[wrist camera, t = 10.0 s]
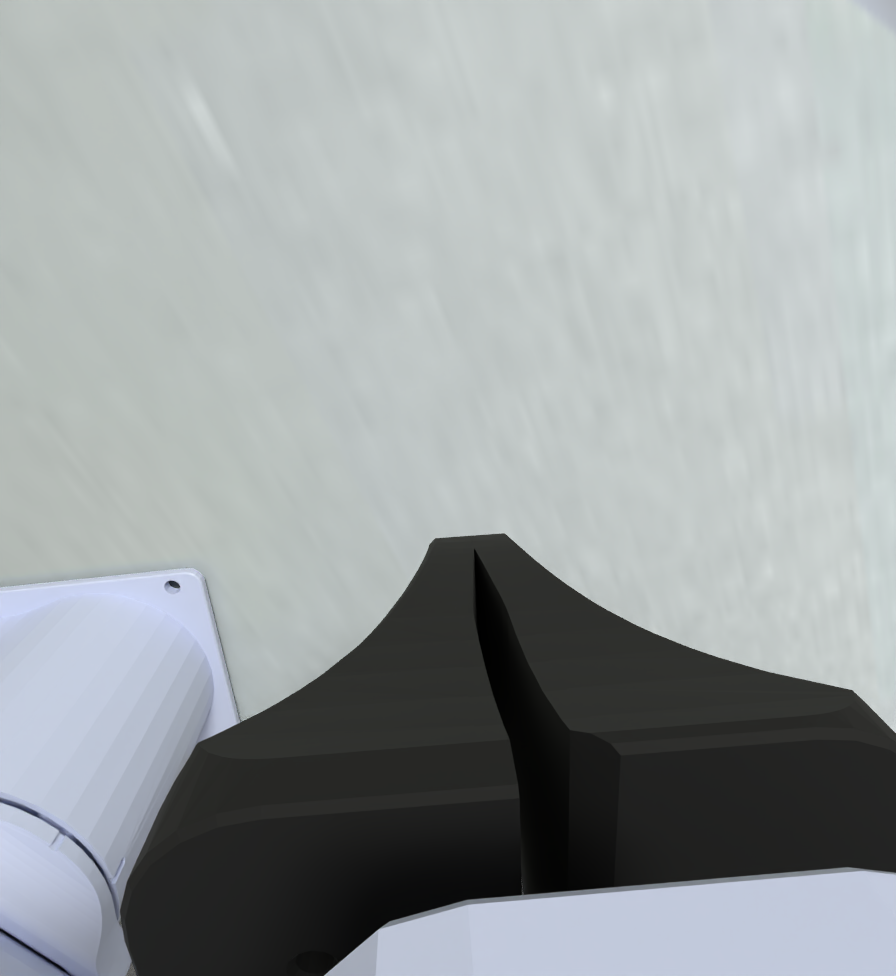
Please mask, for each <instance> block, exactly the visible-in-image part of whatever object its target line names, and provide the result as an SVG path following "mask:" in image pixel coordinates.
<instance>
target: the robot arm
mask: <svg viewBox="0 0 896 976" xmlns="http://www.w3.org/2000/svg"><path fill="white" fill-rule="evenodd" d="M170 580H172V581H176V582H177V583H179V585H180V588H173V587H172V586H170V584H169V583H168V581H170ZM521 876H522V883H523V890H524V895H522V885H521ZM120 919H121V922H122V927H121V926H120V924H119V922H120ZM122 928H123V929H122ZM131 962H132V963H133V966H134V969H135V972H136V974H137V976H896V733H895V732H894V731H893V730H892V729H891V728H890V727H889V726H888V725H887V724H886V723H885V722H884V721H883V720H882V719H881V718H880V717H879V716H878V715H877V714H876V713H875V712H874V711H873V710H872V709H871V708H870V707H869V706H868V705H867V704H866V703H865V702H864V701H863V700H862V699H861V698H860V697H859V696H858V695H857V694H856V693H854V692H853V691H852V690H849V689H844V688H839V687H835V686H830V685H826V684H821V683H816V682H812V681H807V680H802V679H798V678H793V677H789V676H784V675H779V674H775V673H770V672H766V671H763V670H759V669H755V668H752V667H749V666H745V665H742V664H738V663H735V662H732V661H728V660H725V659H721V658H718V657H715V656H712V655H709V654H706V653H703V652H700V651H698V650H695V649H692V648H689V647H686V646H684V645H681V644H679V643H676V642H674V641H672V640H669V639H667V638H664V637H662V636H659V635H657V634H654V633H652V632H650V631H648V630H645V629H643V628H641V627H639V626H637V625H634V624H633V623H631V622H629V621H627V620H625V619H623V618H621V617H619V616H617V615H615V614H613V613H612V612H610V611H608V610H606V609H604V608H602V607H601V606H599V605H597V604H596V603H594V602H592V601H591V600H589V599H588V598H586V597H585V596H583V595H582V594H580V593H579V592H577V591H575V590H574V589H572V588H571V587H569V586H568V585H567V584H565V583H564V582H562V581H561V580H560V579H558V578H557V577H556V576H554V575H553V574H552V573H550V572H549V571H548V570H547V569H545V568H544V567H543V566H542V565H540V564H539V563H538V562H537V561H535V560H534V559H533V558H532V557H531V556H530V555H528V554H527V553H526V552H525V551H524V550H523V549H522V548H520V547H519V546H518V545H517V544H516V543H515V542H514V541H513V540H511V539H510V538H509V537H508V536H507V535H506V534H490V535H476V536H462V537H449V538H435V539H434V540H433V541H432V543H431V544H430V545H429V548H428V551H427V553H426V556H425V558H424V560H423V562H422V564H421V565H420V567H419V569H418V571H417V573H416V574H415V576H414V577H413V579H412V581H411V582H410V584H409V585H408V587H407V588H406V590H405V592H404V593H403V594H402V596H401V597H400V598H399V600H398V601H397V602H396V604H395V605H394V606H393V608H392V609H391V610H390V611H389V613H388V614H387V615H386V617H385V618H384V619H383V620H382V621H381V623H380V624H379V625H378V626H377V627H376V628H375V629H374V630H373V631H372V633H371V634H370V635H369V636H368V637H367V638H366V639H365V640H364V641H363V642H362V643H361V644H360V645H359V646H357V647H356V648H355V649H354V650H353V651H351V652H350V653H349V654H348V655H346V656H345V657H344V658H343V659H341V660H340V661H339V662H338V663H336V664H335V665H334V666H333V667H331V668H330V669H329V670H328V671H326V672H325V673H324V674H322V675H321V676H320V677H318V678H317V679H315V680H314V681H312V682H311V683H309V684H308V685H306V686H305V687H303V688H302V689H300V690H299V691H297V692H295V693H294V694H292V695H290V696H289V697H287V698H285V699H284V700H282V701H280V702H279V703H277V704H275V705H273V706H272V707H270V708H268V709H266V710H264V711H263V712H261V713H259V714H257V715H255V716H253V717H251V718H249V719H247V720H244V721H242V722H240V720H239V716H238V712H237V708H236V704H235V700H234V695H233V691H232V687H231V683H230V679H229V675H228V671H227V667H226V663H225V659H224V655H223V651H222V647H221V643H220V639H219V635H218V631H217V627H216V623H215V619H214V615H213V611H212V607H211V602H210V598H209V594H208V590H207V586H206V582H205V579H204V577H203V575H202V574H201V573H200V572H199V571H198V570H195V569H193V568H182V569H173V570H163V571H153V572H144V573H134V574H124V575H115V576H105V577H95V578H86V579H76V580H66V581H57V582H47V583H37V584H28V585H18V586H8V587H0V976H126V975H127V973H128V970H129V967H130V965H131Z"/></svg>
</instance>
